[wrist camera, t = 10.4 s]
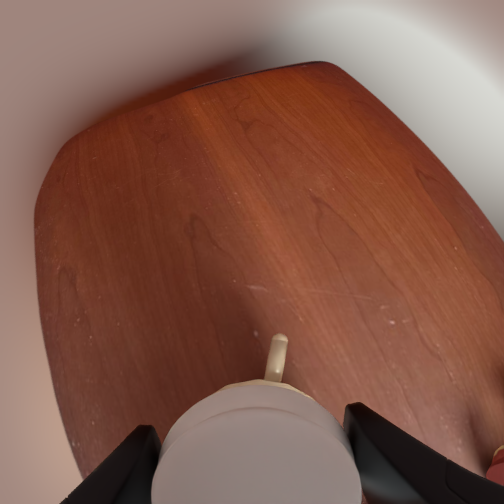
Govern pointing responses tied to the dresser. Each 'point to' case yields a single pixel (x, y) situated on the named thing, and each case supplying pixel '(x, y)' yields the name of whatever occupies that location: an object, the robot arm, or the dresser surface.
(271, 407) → the pill bottle
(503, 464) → the dentures
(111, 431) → the dresser surface
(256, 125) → the dresser surface
